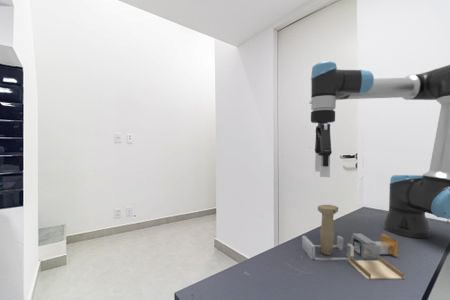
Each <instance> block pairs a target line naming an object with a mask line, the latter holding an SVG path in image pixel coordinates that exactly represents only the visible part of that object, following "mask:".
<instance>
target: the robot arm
mask: <svg viewBox="0 0 450 300" xmlns="http://www.w3.org/2000/svg"><path fill="white" fill-rule="evenodd" d="M337 68H338V67H337V63H336V62H335V61H330V60H326V61H324V60H323V61H320V62H317V63H315V64H314V65H313V66H312V67H311V78H310V81H311V83H310V84H311V91H310V92H311V96H310V97H311V100H310V101H309V104H310V110H312V111H311V112H310V122H311V123H313V124H317V126H316V127H315V145H314V152H315V159H314V169H315V170H314V171H315V172H319V177H320V178H330V175H331V169H330V168H331V155H332V153H333V151H332V141H331V138H332V137H331V124H330V123H334V122H336V111H335V109H336V105H337V103H336V102H337V101H338V100H339V101H340V100H359V99H360V100H361V99H363V100H365V99H392V98H393V99H394V98H395V99H396V98H397V99H398V98H402V99H403V100H407V101H408V100H409V101H410V100H413V101H414V100H415V101H416V100H417V101H418V100H419V101H421V100H422V101H434V100H436V102H437V103H439V104H440V111H439V117H438V121H437V127H436V131H435V138H434V144H433V149H432V154H431V159H430V164H429V170H428V171H427V172H425V173H423V174H422V175H420V174H419V175H417V174H416V175H413V174H406V175H405V174H395V175H394V174H393V175H392V176H391V177H390V180H389V181H390V182H389V198H388V199H389V202H388V210H387V213H386V215H385V218H384V220H383V229H384V230H386V231H388V232H390V233H392V234H395V235H399V236H402V237H407V238H414V239H426V238H430V236H431V229H430V227H429V223H428V221H427V218H426V217H427V216H426V213H427V214H431V215H433V216H436V217H437V218H442V219H444V220H445V219H446V220H450V64H448V65H444V66H442V67H441V66H440V67H439V68H434V69H432V70H429V71H426V72H422V73H417V74H409V75H406V76H405V77H384V78H374V75H373V72H371V71H370V70H364V69H340V68H339V69H337Z"/></svg>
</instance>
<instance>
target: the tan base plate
mask: <svg viewBox="0 0 450 300" xmlns="http://www.w3.org/2000/svg"><path fill="white" fill-rule="evenodd" d="M347 261H348V263H349V264H350V265H351V266H352V267H354V269H356V270H357V271H358V273H360V275H362V276H363V277H364V278H365V279H366V280H377V281H378V280H405V279H406V277H405V275H404V273H403V272H401V270H399V269H398V268H397V267H394V266H393V264H391V263H389V262H388V261H387V260H385V259H383V258H382V257H381V256H380V257H378V259H377V260H356V259H353V258H352V257H350V260H347Z"/></svg>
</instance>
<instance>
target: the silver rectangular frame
mask: <svg viewBox="0 0 450 300" xmlns="http://www.w3.org/2000/svg"><path fill="white" fill-rule="evenodd" d="M301 248H302V250H303V251H304V252H305V253H306V255H308V258H310V260H315V261H350V257H352V258H353V259H354V257H355V255H354V254H355V250H354V246H353V245H351V243H346V257H316V248H317V249H318V248H321V244H319V245H314V243H313V242H312V241H311V240H310V239H309V238H308V237H307V236H306V235H301ZM335 248H336V249H338V250H339V251H344V238H343V237H342V236H341V235H337V237H336V244H335V245H334V244H333V248H332V249H335ZM321 249H322V248H321ZM354 260H355V259H354Z"/></svg>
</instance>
